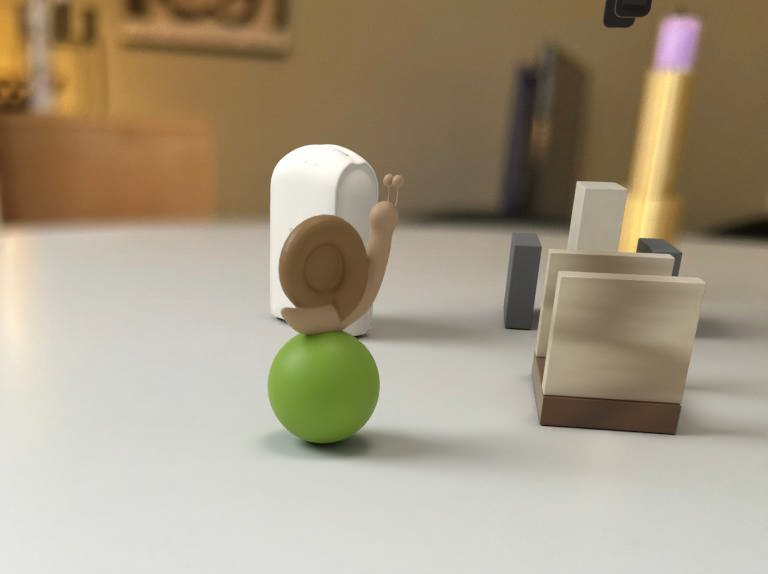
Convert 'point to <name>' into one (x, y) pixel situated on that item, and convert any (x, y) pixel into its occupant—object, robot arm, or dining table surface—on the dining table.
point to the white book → (597, 216)
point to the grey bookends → (527, 268)
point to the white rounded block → (319, 204)
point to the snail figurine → (330, 323)
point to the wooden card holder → (614, 340)
